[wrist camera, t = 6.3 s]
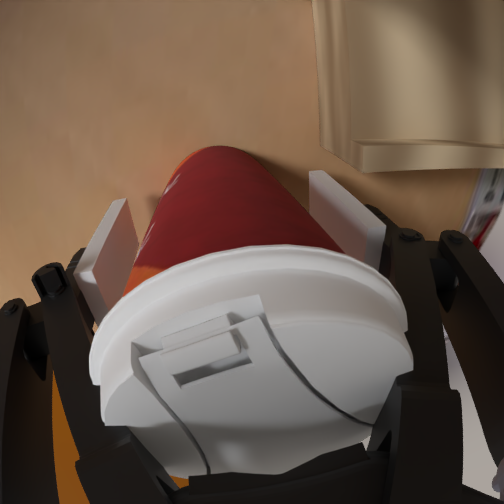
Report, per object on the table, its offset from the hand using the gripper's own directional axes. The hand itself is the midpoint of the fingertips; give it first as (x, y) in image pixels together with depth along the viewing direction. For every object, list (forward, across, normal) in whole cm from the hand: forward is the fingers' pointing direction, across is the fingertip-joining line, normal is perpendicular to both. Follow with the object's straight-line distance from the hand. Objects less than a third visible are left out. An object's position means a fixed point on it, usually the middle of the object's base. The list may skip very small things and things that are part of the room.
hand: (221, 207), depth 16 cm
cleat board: (+2, +13, +9) cm, 16 cm away
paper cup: (+2, 0, 0) cm, 2 cm away
